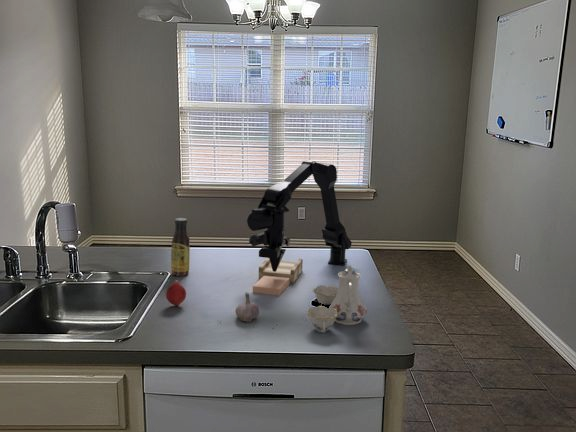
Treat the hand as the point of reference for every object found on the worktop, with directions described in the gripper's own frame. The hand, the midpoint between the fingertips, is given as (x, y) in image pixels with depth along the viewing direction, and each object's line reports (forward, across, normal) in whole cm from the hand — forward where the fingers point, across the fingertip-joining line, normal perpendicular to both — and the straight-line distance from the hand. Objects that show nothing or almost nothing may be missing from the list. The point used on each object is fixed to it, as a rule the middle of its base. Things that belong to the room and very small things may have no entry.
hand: (274, 271), depth 187 cm
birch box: (+4, -9, 0) cm, 10 cm away
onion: (+5, +28, -23) cm, 37 cm away
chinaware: (+5, +24, +25) cm, 35 cm away
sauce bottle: (+4, 0, -34) cm, 34 cm away
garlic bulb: (+5, +31, 0) cm, 32 cm away
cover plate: (+5, +5, 0) cm, 7 cm away
